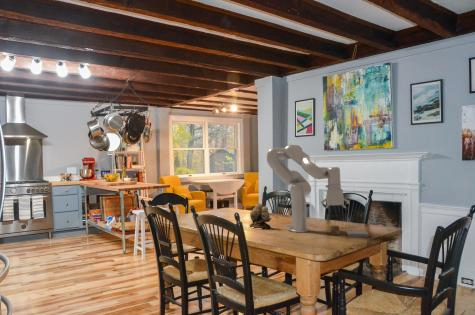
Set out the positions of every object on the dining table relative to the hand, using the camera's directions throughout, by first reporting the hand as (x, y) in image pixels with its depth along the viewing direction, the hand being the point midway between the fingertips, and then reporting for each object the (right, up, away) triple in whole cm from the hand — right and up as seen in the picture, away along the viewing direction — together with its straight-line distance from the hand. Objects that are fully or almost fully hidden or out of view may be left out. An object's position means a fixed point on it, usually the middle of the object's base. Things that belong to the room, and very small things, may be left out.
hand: (335, 214), depth 232 cm
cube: (0, -12, 0) cm, 12 cm away
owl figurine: (-45, -14, +29) cm, 55 cm away
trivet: (+12, -12, -3) cm, 17 cm away
